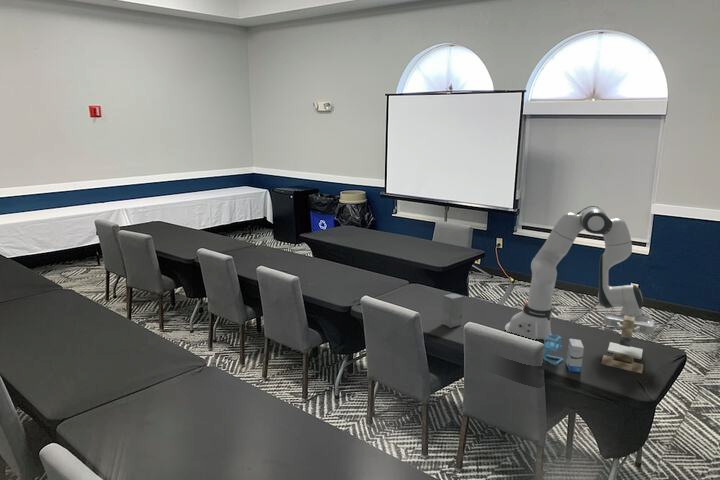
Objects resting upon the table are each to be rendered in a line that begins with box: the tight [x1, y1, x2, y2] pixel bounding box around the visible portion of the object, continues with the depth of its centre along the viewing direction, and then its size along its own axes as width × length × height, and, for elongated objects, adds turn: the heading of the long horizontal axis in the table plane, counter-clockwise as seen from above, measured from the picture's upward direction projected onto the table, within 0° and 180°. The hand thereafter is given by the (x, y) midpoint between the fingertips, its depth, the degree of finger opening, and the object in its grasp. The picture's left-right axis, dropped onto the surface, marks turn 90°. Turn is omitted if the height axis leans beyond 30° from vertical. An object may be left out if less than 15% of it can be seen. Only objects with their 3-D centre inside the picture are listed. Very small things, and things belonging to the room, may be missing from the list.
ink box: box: [565, 338, 585, 373], centre depth 227 cm, size 8×5×12 cm, turn 168°
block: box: [619, 316, 635, 347], centre depth 228 cm, size 4×5×12 cm
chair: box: [542, 334, 564, 367], centre depth 234 cm, size 8×8×12 cm
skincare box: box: [441, 293, 464, 329], centre depth 269 cm, size 8×7×16 cm
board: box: [607, 341, 644, 360], centre depth 244 cm, size 14×10×1 cm
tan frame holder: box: [600, 352, 644, 375], centre depth 232 cm, size 16×9×3 cm, turn 59°
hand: (627, 329), depth 227 cm, fingers closed on block, 4 cm apart
